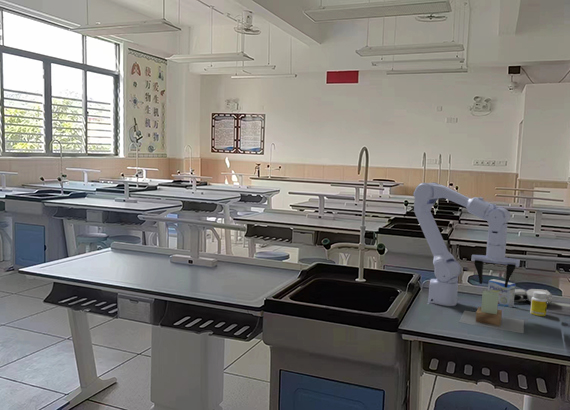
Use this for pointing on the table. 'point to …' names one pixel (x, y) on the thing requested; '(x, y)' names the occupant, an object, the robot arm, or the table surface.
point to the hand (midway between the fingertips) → (493, 285)
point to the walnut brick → (488, 317)
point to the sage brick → (489, 302)
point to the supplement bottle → (538, 303)
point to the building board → (505, 324)
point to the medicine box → (503, 292)
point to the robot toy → (529, 295)
